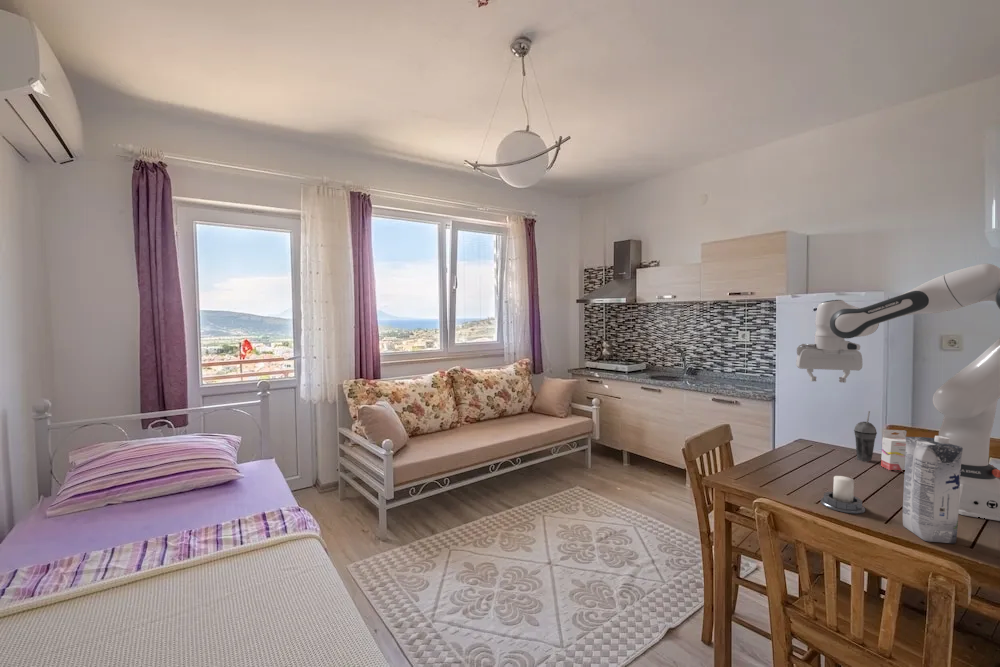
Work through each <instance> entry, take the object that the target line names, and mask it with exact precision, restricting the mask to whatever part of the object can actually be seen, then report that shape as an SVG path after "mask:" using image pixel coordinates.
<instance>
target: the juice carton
mask: <svg viewBox="0 0 1000 667" xmlns="http://www.w3.org/2000/svg"><path fill="white" fill-rule="evenodd" d="M949 440H950V439H949V438H947V437H942V436H939V435H934V437H926V436H925V437H924V436H906V453H905V472H903V473H904V475H903V478H904V479H903V497H902V498H903V500H902V526H903V527H904V528H905V529H906V530H908V531H910V532H911V533H913V534H914V535H915V536H917V537H918V538H919V539H921V540H922V541H925V542H931V543H941V544H942V543H944V544H953V545H954V544H956V543H957V540H958V539H957V537H958V528H959V527H958V526H959V513H958V512H959V493H960V474H961V457H962V450H963V448H962V447H960V446H957V445H953V444H949Z"/></svg>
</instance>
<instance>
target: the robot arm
mask: <svg viewBox="0 0 1000 667" xmlns="http://www.w3.org/2000/svg"><path fill="white" fill-rule="evenodd" d="M988 301H989V302H994V303H995V304H996V306H997V308H998V309H999V310H1000V267H999V266H997V265H995V264H993V263H992V264H991V263H980V264H975V265H971V266H968V267H964V268H961V269H957V270H954V271H951V272H947V273H945V274H942V275H939V276H937V277H935V278H933V279H930V280H928V281H925V282H924V283H922V284H919V285H918V286H915V287H914V288H911V289H910V290H908V291H906V292H903V293H901V294H899V295H897V296H894V297H891V298H887V299H886V300H882V301H879V302H877V303H873V304H871V305H868V306H865V307H861V308H860V307H856V306H854V305H851V304H849V303H847V302H845V300H843V299H832V300H825V301H822V302H820V303H819V304H818V306H817V308H816V312H815V323H814V324H815V328H816V329H815V330H816V331H815V334H814V343H807V344H806V343H802V344H800V345H798V346H797V347H796V355H797V356H796V362H795V366H796V367H797V368H798V369H801V370H806V372H807V375H808V376H809V381H810V382H817V376H815V375H814V374H813V373H814V370H827V371H830V370H832V371H842V373H843V375H842V376H839V378H838V379H839V380H838V381H839V383H844V384H845V383H846V382H847V378H848V376H849V375H850V374H851V371H861V370H862V368H863V356H862V353H861V351H860V350H861V345H860V344H859V343H855V342H851V341H848V340H845V339H853V338H858V337H859V338H860V337H866V336H867V337H868V336H869V335H872V334H874V333H875V332H876V331H877V329H878V328H879V326H880V324H881V323H885V322H887V321H890V320H894V319H897V318H901V317H905V316H910V315H911V316H913V315H923V314H924V315H925V314H926V315H928V314H939V313H945V312H950V311H953V310H959V309H961V308H964V307H968V306H971V305H974V304H977V303H981V302H988ZM998 400H1000V337H999V338H997V340H995V342H993V343H992V344H991V345H989V347H988V348H987V349H986V350H985V351H983V352H982V353H981V354H980V355H979V356H978V357H977V358H975V359H974V360H973V361H971V362H970V363H968V364H967V365H966V366H965V367H963V368H962V369H960V371H958V372H957V373H955V374H954V375H953V376H952V377H950V378H949V379H948V380H946V381H945V382H944V383H943V384H942V385H941V386H940V387H938V388H937V389H936V390H935V392H934V393H933V396H932V403H933V406H934V408H935V409H936V410H937V411H938V412H939V413H941V414H942V415H943V418H942V423H941V426H940V428H939V431H938V436H942V437H947V438H949V439H950V440H949V444H953V445H957V446H960V447H962V448H963V450H962V457H961V474H960V493H959V512H958V515H962V516H966V517H972V518H978V517H980V518H981V519H984V518H985V519H986V520H992V521H997V522H1000V479H999V478H1000V469H998V468H997V467H995V466H994V465H993V464H992V465H991V464H990V463H989V459H990V458H989V456H990V440H991V435H992V431H993V426H994V422H995V419H996V418H995V416H996V412H997V405H998ZM980 518H979V519H980Z"/></svg>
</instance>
